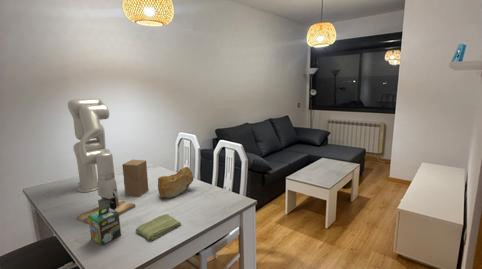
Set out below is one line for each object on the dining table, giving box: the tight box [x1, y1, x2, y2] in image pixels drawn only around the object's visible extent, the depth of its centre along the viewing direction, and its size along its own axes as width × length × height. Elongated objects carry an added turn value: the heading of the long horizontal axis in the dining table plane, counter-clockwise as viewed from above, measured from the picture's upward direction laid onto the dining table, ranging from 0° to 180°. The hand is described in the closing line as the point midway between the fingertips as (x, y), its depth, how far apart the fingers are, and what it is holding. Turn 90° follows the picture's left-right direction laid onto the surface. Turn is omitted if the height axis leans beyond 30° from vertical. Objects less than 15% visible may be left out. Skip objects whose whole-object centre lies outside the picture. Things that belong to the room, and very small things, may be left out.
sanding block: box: [97, 198, 119, 209], centre depth 133 cm, size 5×8×6 cm, turn 154°
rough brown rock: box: [157, 166, 194, 199], centre depth 157 cm, size 23×17×15 cm
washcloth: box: [135, 213, 182, 241], centre depth 118 cm, size 13×18×3 cm
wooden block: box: [122, 159, 149, 197], centre depth 155 cm, size 10×10×20 cm
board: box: [76, 198, 136, 224], centre depth 133 cm, size 16×22×2 cm
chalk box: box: [88, 206, 122, 246], centre depth 110 cm, size 9×9×15 cm
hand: (109, 207), depth 134 cm, fingers closed on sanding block, 5 cm apart
